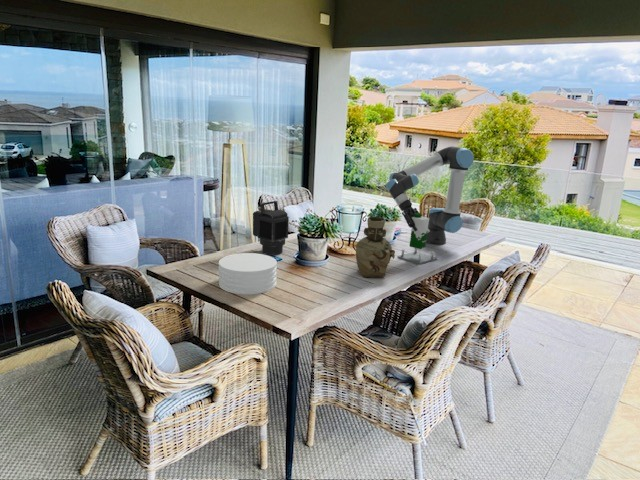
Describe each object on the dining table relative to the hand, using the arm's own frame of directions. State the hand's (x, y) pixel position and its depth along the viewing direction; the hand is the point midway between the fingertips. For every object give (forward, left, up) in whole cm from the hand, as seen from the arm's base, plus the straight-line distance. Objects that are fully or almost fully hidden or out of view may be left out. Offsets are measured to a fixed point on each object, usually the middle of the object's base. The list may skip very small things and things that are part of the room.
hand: (424, 233), depth 282 cm
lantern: (+66, -62, -16) cm, 92 cm away
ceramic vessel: (+42, -1, -17) cm, 45 cm away
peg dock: (0, -3, -16) cm, 17 cm away
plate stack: (+106, -25, -17) cm, 110 cm away
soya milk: (+1, -3, -9) cm, 10 cm away
